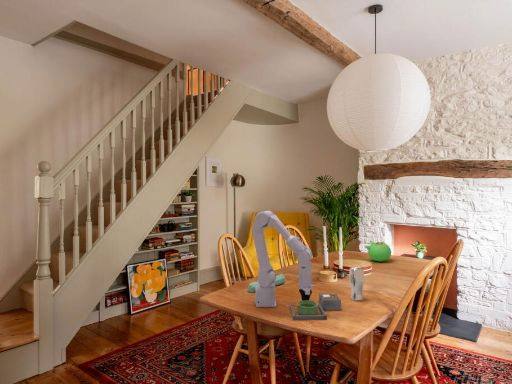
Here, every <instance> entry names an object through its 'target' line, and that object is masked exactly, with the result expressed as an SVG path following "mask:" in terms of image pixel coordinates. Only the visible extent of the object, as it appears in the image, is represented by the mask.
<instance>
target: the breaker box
mask: <svg viewBox="0 0 512 384" xmlns="http://www.w3.org/2000/svg"><path fill="white" fill-rule="evenodd" d="M322 295H329V296H330V298H323V297H322ZM318 304H321V306H322V308H323V310H324V311H342V300H341V298H340V297H339V295H338V294H337V293H334V292H331V293H330V292H327V293H326V292H325V293H324V292H322V293H319V292H318Z"/></svg>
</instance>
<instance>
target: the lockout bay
mask: <svg viewBox="0 0 512 384" xmlns="http://www.w3.org/2000/svg"><path fill="white" fill-rule="evenodd" d="M317 309H319V312H320V314H316V315H300V314H298V315H296V313H295V311H294V307H293V304H289V310H290V314H291V317H292V320H293V321H308V320H309V321H310V320H311V321H315V320H316V321H318V320H319V321H322V320H324V321H325V320H326V321H327V320H328V316H327V314H326V312H325V310H323V308H322V306H321V304H319V303H318V307H317Z"/></svg>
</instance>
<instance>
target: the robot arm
mask: <svg viewBox="0 0 512 384" xmlns="http://www.w3.org/2000/svg"><path fill="white" fill-rule="evenodd" d="M253 219H254V221H253V224H252V227H251V232H252V237H253V243H254V247H255V252H256V257H257V262H258V269H257V270H258V271H257V275H258V276H257V281H258V283H259V286H256V292H255V298H254V302H255V308H272V307H273V308H277V303H276V286H275V284H274V281H275V279H276V276H277V274H276V272H275V270H274V268H273V265H272V264H271V262H270V255H269V251H268V248H267V241H266V237H265V232H264V231H265V230H266V228H267V227H268V228H269V227H270V228H274V229H275V230H276V231H277V232H278V233H279V234H280V235H281V236H282V237H283V238H284V239H285V243H286V244H285V245H287V247H288V248H289V249H290V250H291V252H292V253H293V254H294V255H296V260H297V261H298V292H299V295H300V297H301V301H304V300H309V301H310V298H311V295H312V294H313V291H312V289H313V288H315V284H312V281H313V280H312V259H313V258H312V257H313V252H312V250H311V248H308V247H307V245H304V244H303V242H302V241H301V239H300V237H298V236H297V235H292V234H291V233H290V232H289V230H288V229H287V228H286V227H285V225H284V224H283V222H282V221H281V220H280V219H279V218H278V216H277V215H276V214H274V212H273V211H272V210H264V211H259V212H258V213H257V214H256V215H255V216H254V217H253Z"/></svg>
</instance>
